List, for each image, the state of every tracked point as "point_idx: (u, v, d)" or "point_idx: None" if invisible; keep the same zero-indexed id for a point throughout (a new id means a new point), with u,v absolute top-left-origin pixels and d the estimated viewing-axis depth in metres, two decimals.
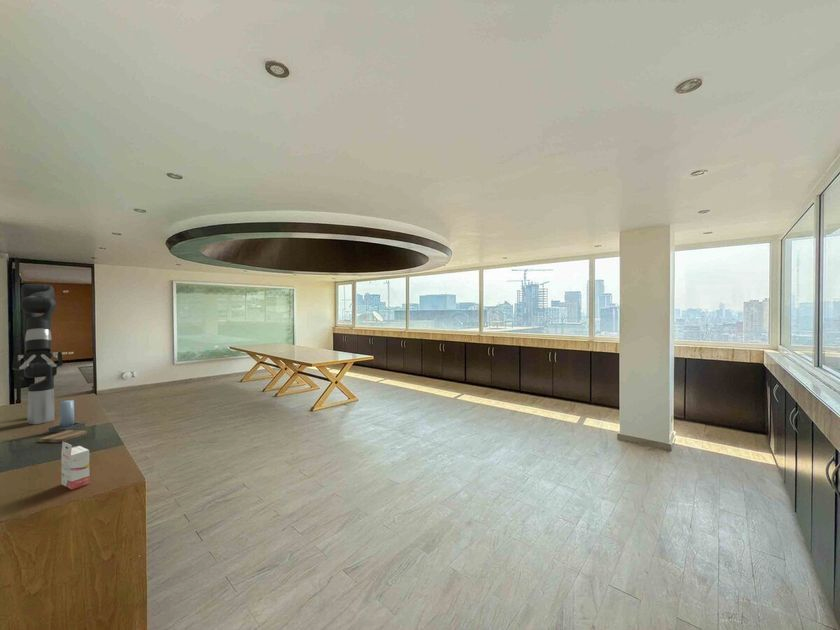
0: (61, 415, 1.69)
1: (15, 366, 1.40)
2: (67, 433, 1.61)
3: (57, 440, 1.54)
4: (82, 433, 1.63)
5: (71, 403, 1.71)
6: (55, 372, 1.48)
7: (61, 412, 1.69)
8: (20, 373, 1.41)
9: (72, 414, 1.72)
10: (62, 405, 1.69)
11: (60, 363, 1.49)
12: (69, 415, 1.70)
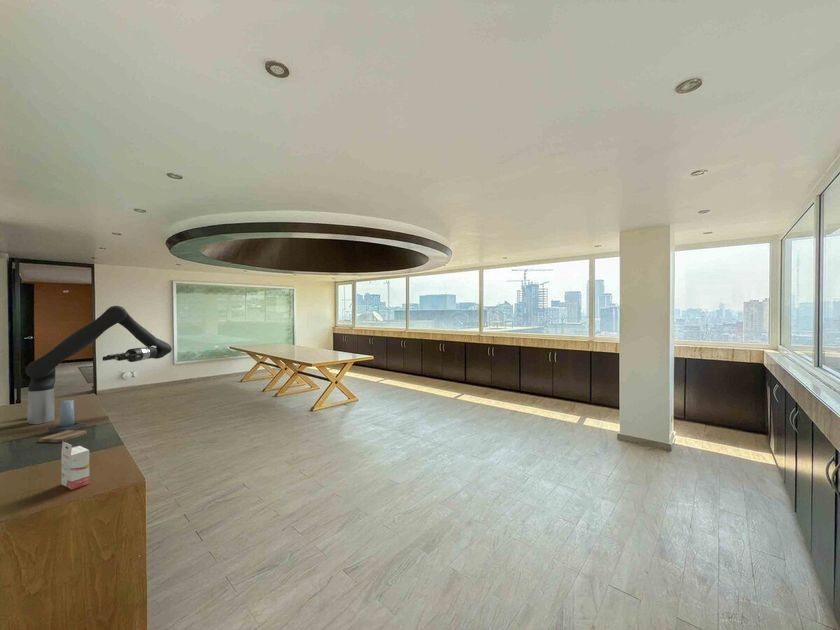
0: (61, 415, 1.69)
1: None
2: (67, 433, 1.61)
3: (57, 440, 1.54)
4: (82, 433, 1.63)
5: (71, 403, 1.71)
6: None
7: (61, 412, 1.69)
8: (123, 359, 1.84)
9: (72, 414, 1.72)
10: (62, 404, 1.69)
11: None
12: (69, 415, 1.70)
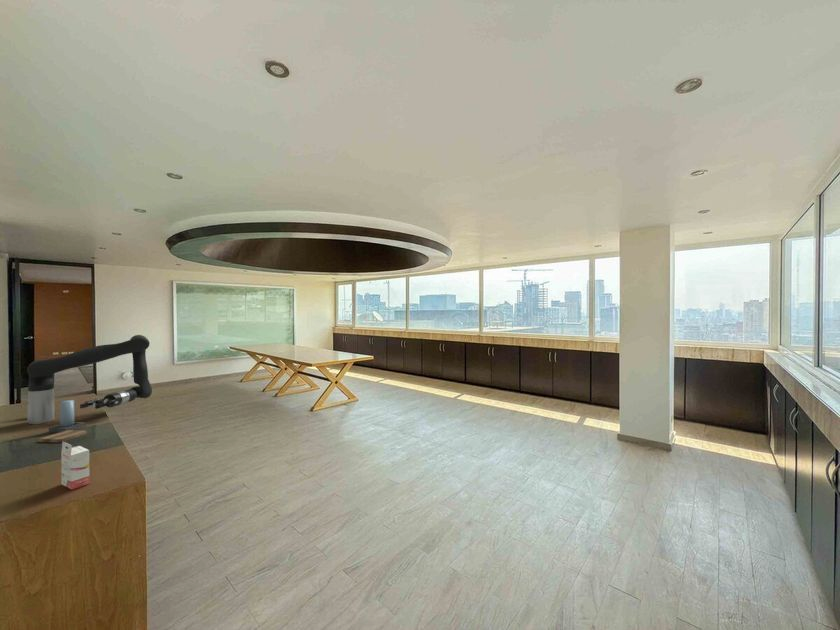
0: (61, 415, 1.69)
1: None
2: (67, 433, 1.61)
3: (57, 440, 1.54)
4: (82, 433, 1.63)
5: (71, 403, 1.71)
6: None
7: (61, 412, 1.69)
8: None
9: (72, 414, 1.72)
10: (63, 404, 1.69)
11: None
12: (69, 415, 1.70)
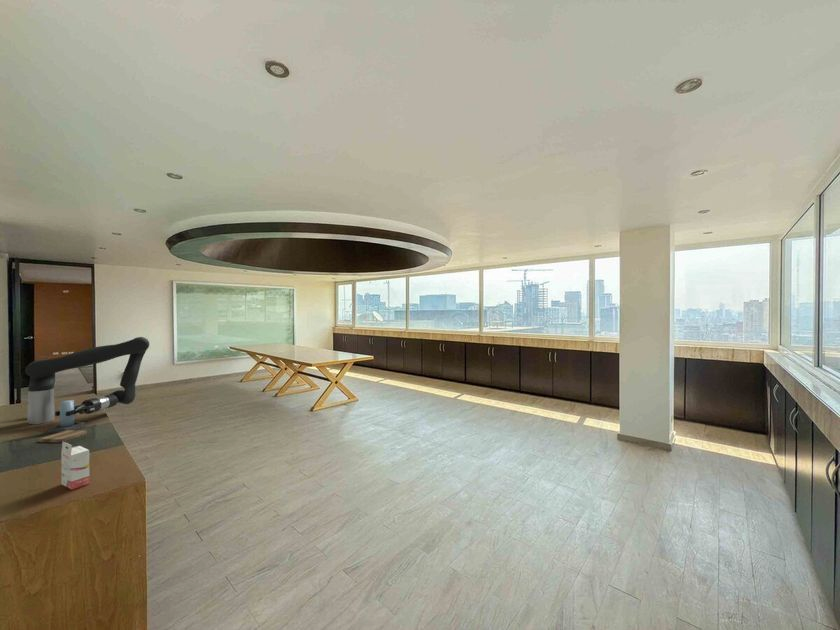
0: (61, 415, 1.69)
1: None
2: (67, 433, 1.61)
3: (57, 440, 1.54)
4: (82, 433, 1.63)
5: (71, 403, 1.71)
6: None
7: (61, 412, 1.69)
8: None
9: None
10: (62, 404, 1.69)
11: None
12: None
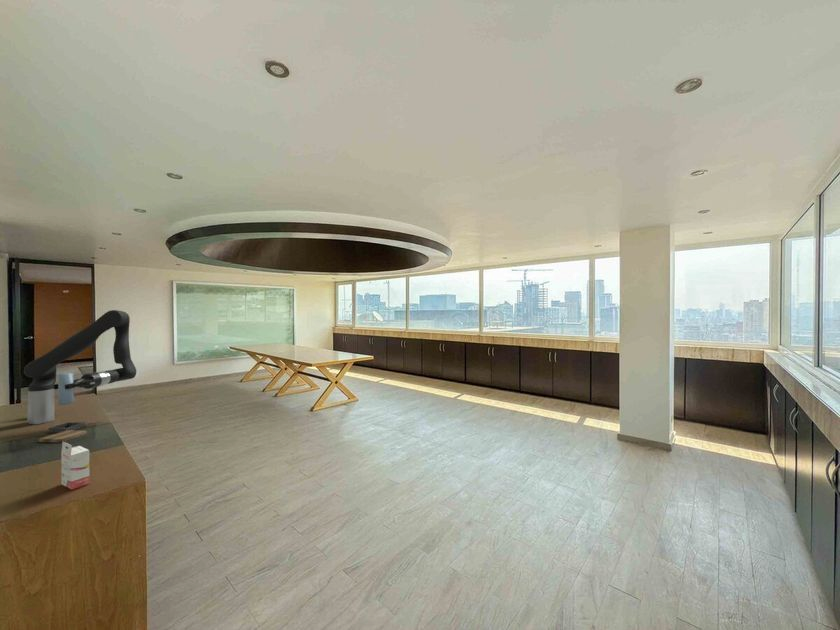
0: (60, 388, 1.59)
1: None
2: (67, 433, 1.61)
3: (57, 440, 1.54)
4: (82, 433, 1.63)
5: (70, 376, 1.61)
6: None
7: (60, 385, 1.59)
8: None
9: None
10: (61, 377, 1.59)
11: None
12: (68, 389, 1.61)
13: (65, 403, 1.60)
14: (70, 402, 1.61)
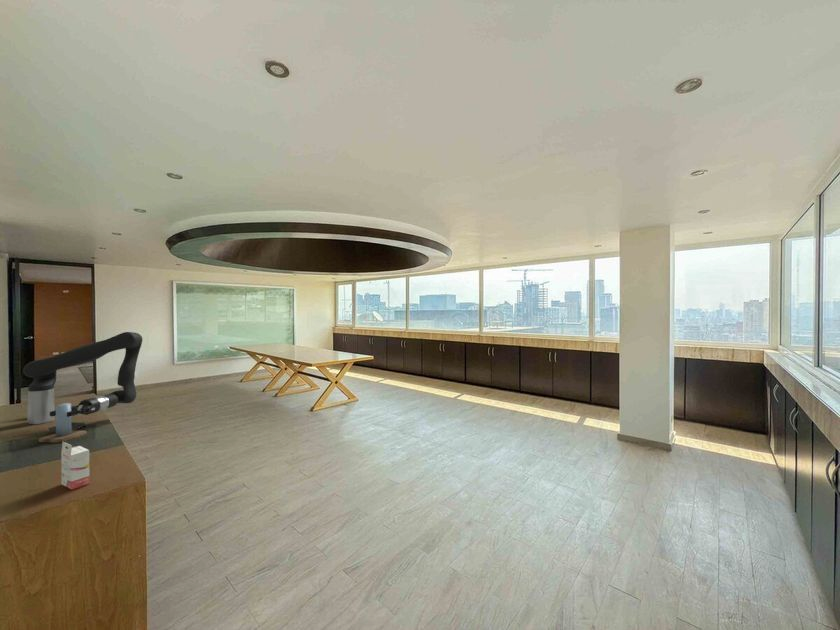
0: (57, 419, 1.57)
1: None
2: None
3: (57, 440, 1.54)
4: (82, 433, 1.63)
5: (68, 407, 1.59)
6: None
7: (57, 416, 1.57)
8: None
9: (69, 418, 1.60)
10: (59, 408, 1.57)
11: None
12: (66, 420, 1.59)
13: (63, 434, 1.58)
14: (68, 433, 1.60)
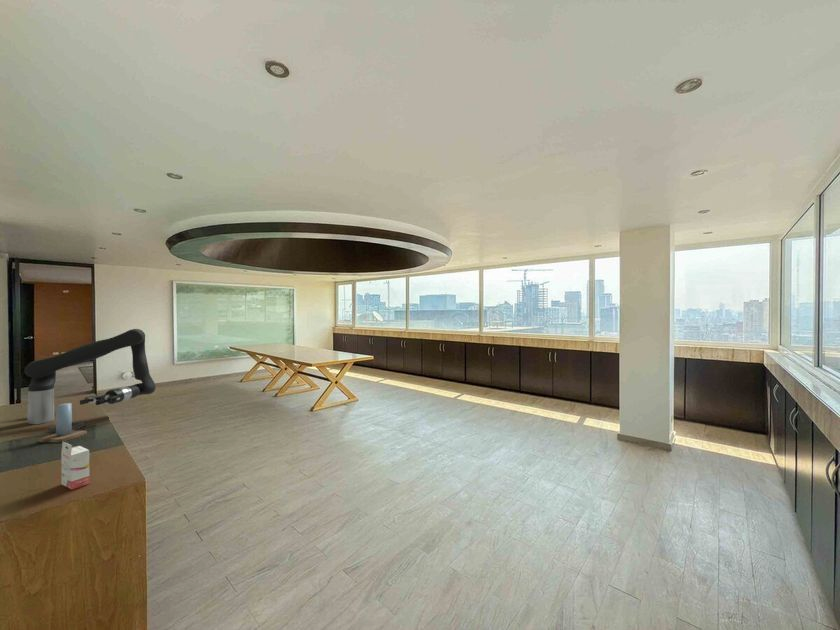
0: (58, 419, 1.58)
1: None
2: None
3: (57, 440, 1.54)
4: (82, 433, 1.63)
5: (68, 406, 1.60)
6: None
7: (58, 416, 1.58)
8: None
9: (69, 418, 1.60)
10: (59, 408, 1.58)
11: None
12: (66, 419, 1.59)
13: (63, 434, 1.58)
14: (68, 433, 1.60)
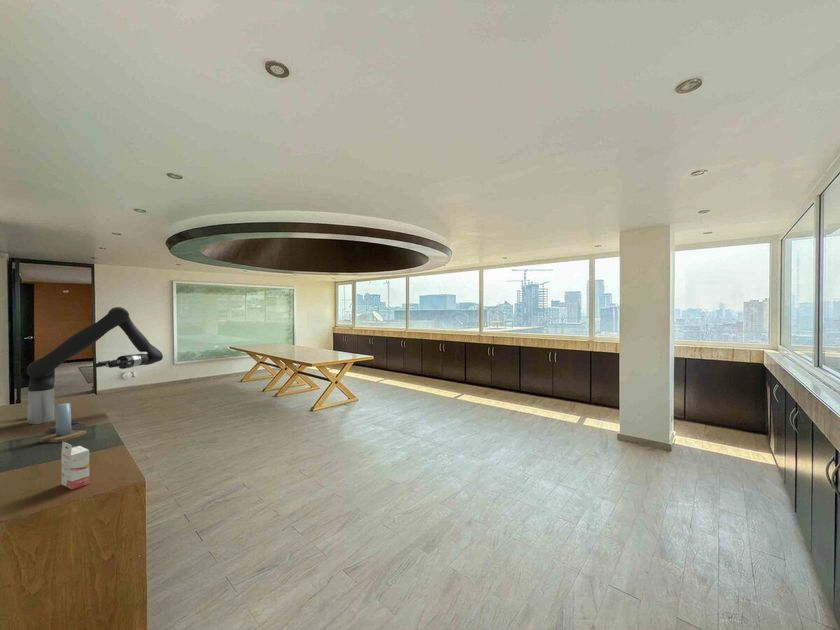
0: (57, 419, 1.58)
1: None
2: None
3: (57, 440, 1.54)
4: (82, 433, 1.63)
5: (67, 406, 1.60)
6: (95, 366, 1.85)
7: (57, 416, 1.57)
8: None
9: (69, 418, 1.60)
10: (58, 408, 1.57)
11: None
12: (65, 419, 1.59)
13: (62, 434, 1.58)
14: (67, 433, 1.60)
